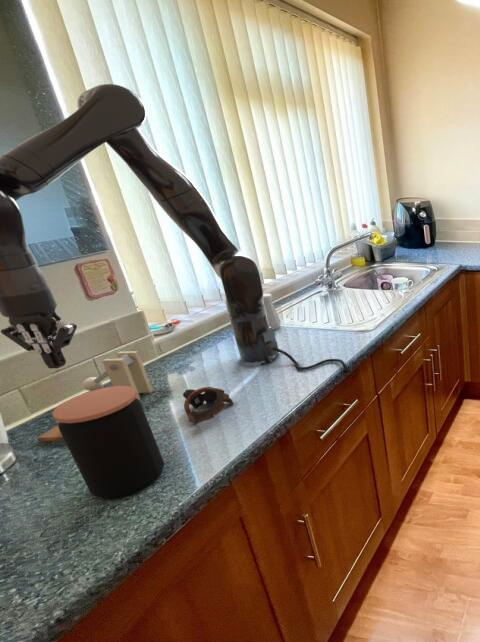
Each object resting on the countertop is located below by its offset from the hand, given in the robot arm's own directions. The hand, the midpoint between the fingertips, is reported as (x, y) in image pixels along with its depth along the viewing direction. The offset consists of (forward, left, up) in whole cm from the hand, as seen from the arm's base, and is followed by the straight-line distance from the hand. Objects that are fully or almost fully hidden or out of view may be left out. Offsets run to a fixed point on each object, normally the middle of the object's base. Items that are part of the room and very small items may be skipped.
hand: (57, 366), depth 86 cm
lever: (+2, -12, -10) cm, 16 cm away
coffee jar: (-23, +17, -17) cm, 33 cm away
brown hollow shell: (-24, -5, -17) cm, 30 cm away
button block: (-1, +1, -16) cm, 16 cm away
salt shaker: (-13, -59, -17) cm, 63 cm away
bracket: (-2, -12, -16) cm, 20 cm away
